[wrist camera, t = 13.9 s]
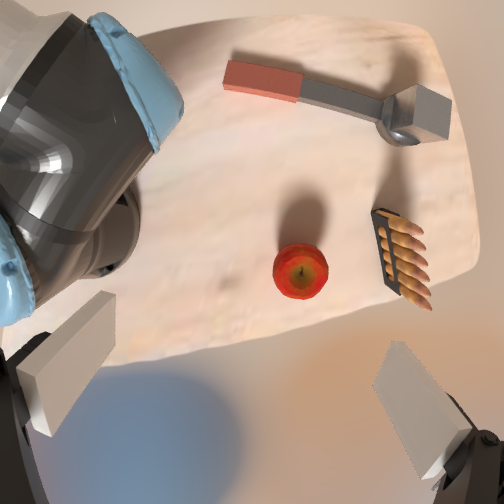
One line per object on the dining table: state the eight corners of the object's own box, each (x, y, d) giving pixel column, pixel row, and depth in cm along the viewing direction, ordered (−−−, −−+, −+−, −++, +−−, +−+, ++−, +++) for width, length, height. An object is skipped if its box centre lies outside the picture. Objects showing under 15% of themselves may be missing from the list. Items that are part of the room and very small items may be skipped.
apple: (309, 228, 39) (322, 240, 32) (323, 272, 41) (338, 292, 33) (262, 246, 40) (265, 262, 32) (279, 289, 41) (285, 312, 34)
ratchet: (221, 103, 35) (215, 89, 29) (232, 54, 34) (229, 34, 27) (415, 153, 37) (440, 151, 30) (421, 107, 35) (446, 99, 29)
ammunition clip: (370, 211, 39) (414, 226, 27) (382, 207, 39) (428, 221, 27) (384, 284, 41) (425, 320, 30) (395, 280, 41) (438, 314, 29)
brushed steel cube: (389, 130, 33) (412, 124, 27) (394, 94, 32) (417, 83, 26) (422, 143, 34) (448, 139, 28) (426, 108, 32) (452, 100, 27)
